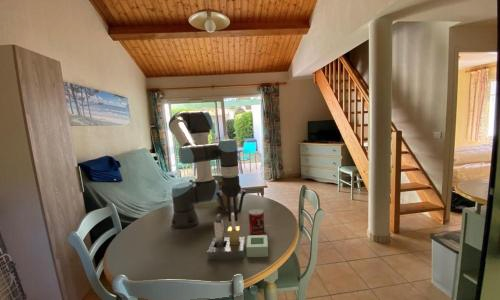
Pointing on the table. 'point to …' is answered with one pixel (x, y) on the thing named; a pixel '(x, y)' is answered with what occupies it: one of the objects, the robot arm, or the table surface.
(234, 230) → the tan rectangular block
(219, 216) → the white tall bar
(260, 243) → the pale green box
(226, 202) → the plant pot
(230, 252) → the socket block
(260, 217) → the canned food
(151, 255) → the table surface
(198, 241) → the table surface
